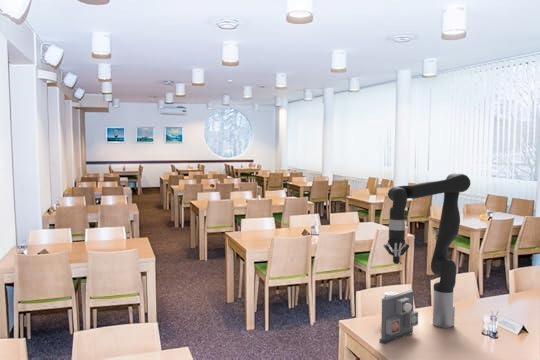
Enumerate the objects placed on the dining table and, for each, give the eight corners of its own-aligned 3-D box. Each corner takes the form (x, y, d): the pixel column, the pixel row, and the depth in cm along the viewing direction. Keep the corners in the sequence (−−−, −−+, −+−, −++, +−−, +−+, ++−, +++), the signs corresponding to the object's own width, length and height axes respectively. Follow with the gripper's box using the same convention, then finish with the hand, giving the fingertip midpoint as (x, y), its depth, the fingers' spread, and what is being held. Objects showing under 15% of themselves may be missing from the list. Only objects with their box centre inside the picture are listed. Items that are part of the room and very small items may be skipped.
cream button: (411, 311, 218) (411, 302, 217) (406, 313, 215) (406, 304, 215) (407, 310, 220) (407, 301, 219) (401, 311, 217) (401, 303, 217)
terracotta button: (398, 330, 215) (398, 321, 215) (392, 332, 213) (393, 323, 212) (393, 328, 217) (394, 319, 217) (388, 330, 215) (388, 321, 214)
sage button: (416, 322, 224) (416, 314, 224) (411, 324, 222) (411, 316, 221) (412, 321, 226) (412, 313, 226) (407, 323, 223) (407, 314, 223)
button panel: (418, 334, 225) (419, 292, 224) (390, 346, 212) (391, 301, 211) (407, 330, 230) (408, 289, 229) (379, 342, 217) (380, 298, 216)
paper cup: (399, 324, 239) (399, 296, 238) (383, 322, 241) (384, 295, 240) (398, 318, 247) (398, 291, 246) (383, 317, 248) (383, 290, 247)
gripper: (406, 226, 238) (405, 261, 239) (380, 227, 236) (380, 262, 237) (413, 229, 231) (412, 265, 232) (386, 230, 229) (386, 266, 230)
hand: (396, 263), depth 235 cm, fingers closed
